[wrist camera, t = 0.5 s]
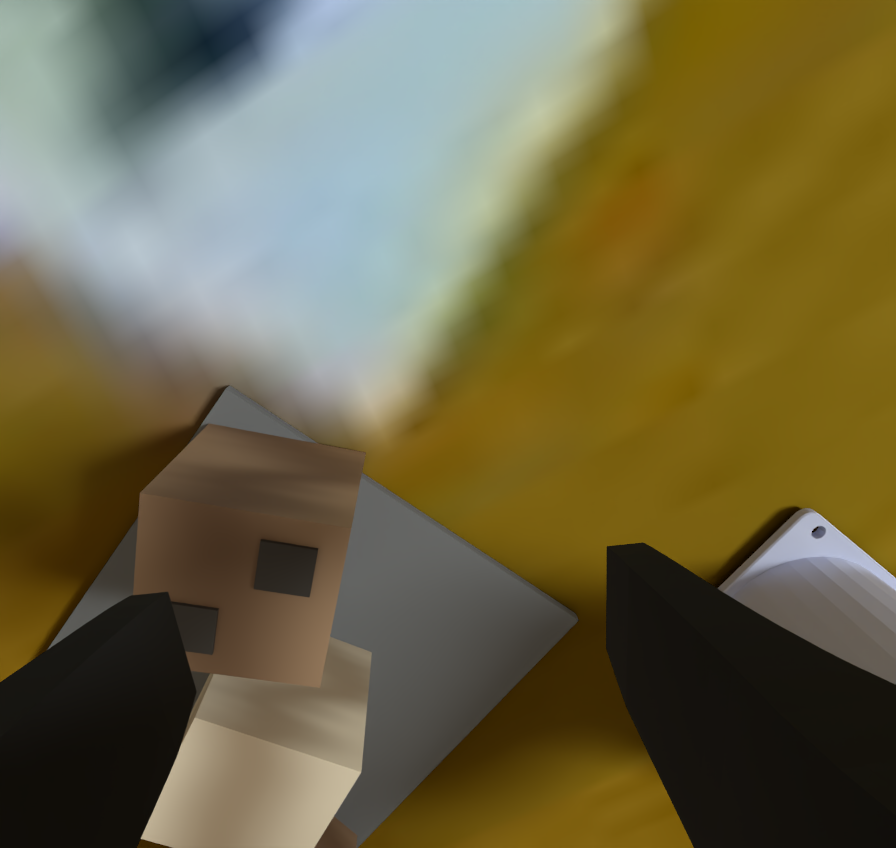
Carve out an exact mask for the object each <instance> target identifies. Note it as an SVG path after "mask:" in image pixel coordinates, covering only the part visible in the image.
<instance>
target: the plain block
mask: <svg viewBox="0 0 896 848" xmlns="http://www.w3.org/2000/svg"><path fill="white" fill-rule="evenodd" d="M371 656H372V652H369V651H367V650H364V649H362V648H359V647H356V646H354V645H351V644H348V643H346V642H343V641H340V640H338V639H335V638H332V637H330V639H329V644H328V649H327V654H326V659H325V664H324V669H323V674H322V680H321V685H320V688H318V687H310V686H302V685H295V684H287V683H280V682H272V681H264V680H257V679H249V678H241V677H234V676H226V675H219V674H211V673H210V674H209V676H208V678H207V680H206V682H205V685H204V687H203V689H202V691H201V693H200V695H199V697H198V699H197V701H196V703H195V705H194V707H193V709H192V712H191V714H190V717H189V721H188V724H187V728H186V731H185V734H184V737H183V740H182V743H181V746H180V749H179V752H178V755H177V758H176V760H175V762H174V765H173V767H172V769H171V772H170V774H169V776H168V779H167V781H166V783H165V785H164V788H163V790H162V792H161V794H160V797H159V799H158V801H157V804H156V806H155V808H154V810H153V813H152V815H151V817H150V819H149V821H148V824H147V826H146V828H145V830H144V832H143V835H142V837H141V839H144V840H147V841H151V842H154V843H158V844H161V845H165V846H169V847H172V848H314V847H315V846H316V844H317V842H318V841H319V839H320V838H321V836H322V834H323V833H324V831H325V830H326V828H327V826H328V825H329V823H330V822H331V820H332V818H333V817H334V815H335V814H336V812H337V810H338V809H339V807H340V806H341V804H342V802H343V801H344V799H345V798H346V796H347V794H348V793H349V791H350V790H351V788H352V786H353V785H354V783H355V782H356V780H357V778H358V777H359V775H360V774H361V770H362V759H363V747H364V736H365V725H366V713H367V702H368V690H369V679H370V668H371Z"/></svg>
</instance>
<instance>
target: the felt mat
mask: <svg viewBox="0 0 896 848" xmlns="http://www.w3.org/2000/svg"><path fill="white" fill-rule="evenodd" d="M209 423H210V424H215V425H220V426H226V427H231V428H237V429H242V430H247V431H253V432H258V433H263V434H269V435H274V436H279V437H285V438H290V439H296V440H301V441H306V442H312V443H316V442H315V441H313V440H312V439H310V438H309V437H307V436H306V435H304V434H303V433H301V432H300V431H298V430H297V429H295V428H294V427H292V426H291V425H289V424H287V423H286V422H284V421H283V420H281V419H280V418H278V417H277V416H275V415H274V414H272V413H271V412H269V411H268V410H266V409H265V408H263V407H262V406H260V405H259V404H257V403H256V402H254V401H253V400H251V399H250V398H248V397H247V396H245V395H243V394H242V393H240V392H239V391H237V390H236V389H234V388H233V387H231V386H230V385H229V386H228V387H227V388H226V389H225V391H224V392H223V394H222V395H221V396H220V398H219V399H218V401H217V402H216V404H215V405H214V407H213V408H212V410H211V411H210V413H209V414H208V415H207V417H206V418H205V420H204V421H203V423H202V424H201V426H200V427H199V429H198V430H197V432H196V433H195V434H194V436H193V437H192V439H191V440H190V442H191V441H192V440H193V439H194V438H195V437H196V436H197V435H198V434H199V433H200V432H201V431H202V430H203V429H204V428H205V427H206V426H207V425H208V424H209ZM190 442H189V443H190ZM189 443H188V444H189ZM317 444H318V443H317ZM137 529H138V518H137V519H136V521H135V522H134V524H133V525H132V526H131V528H130V529H129V531H128V532H127V534H126V535H125V537H124V538H123V540H122V541H121V543H120V544H119V545H118V547H117V548H116V550H115V551H114V553H113V554H112V556H111V557H110V559H109V560H108V562H107V563H106V564H105V566H104V567H103V569H102V570H101V572H100V573H99V575H98V576H97V578H96V579H95V581H94V582H93V583H92V585H91V586H90V588H89V589H88V591H87V592H86V594H85V595H84V597H83V598H82V600H81V601H80V602H79V604H78V605H77V607H76V608H75V610H74V611H73V613H72V614H71V616H70V617H69V619H68V620H67V621H66V623H65V624H64V626H63V627H62V629H61V630H60V632H59V633H58V635H57V636H56V638H55V639H54V640H53V642H52V643H51V645H50V646H49V648H51V647H52V646H54V645H55V644H57V643H58V642H60V641H61V640H62V639H64V638H65V637H67V636H68V635H70V634H71V633H73V632H74V631H75V630H77V629H78V628H80V627H81V626H83V625H84V624H86V623H87V622H89V621H90V620H92V619H93V618H95V617H96V616H98V615H99V614H101V613H102V612H104V611H105V610H107V609H108V608H110V607H112V606H113V605H115V604H117V603H118V602H120V601H122V600H123V599H125V598H127V597H129V596H131V595H133V588H134V573H135V559H136V544H137ZM578 621H579V620H578V618H577V615H576V613H574V612H573V611H571V610H570V609H568V608H567V607H565V606H564V605H562V604H561V603H559V602H558V601H556V600H554V599H553V598H551V597H550V596H548V595H547V594H545V593H544V592H542V591H541V590H539V589H538V588H536V587H535V586H533V585H532V584H530V583H529V582H527V581H526V580H524V579H523V578H521V577H520V576H518V575H517V574H515V573H514V572H512V571H510V570H509V569H507V568H506V567H504V566H503V565H501V564H500V563H498V562H497V561H495V560H494V559H492V558H491V557H489V556H488V555H486V554H485V553H483V552H482V551H480V550H479V549H477V548H476V547H474V546H473V545H471V544H470V543H468V542H466V541H465V540H463V539H462V538H460V537H459V536H457V535H456V534H454V533H453V532H451V531H450V530H448V529H447V528H445V527H444V526H442V525H441V524H439V523H438V522H436V521H435V520H433V519H432V518H430V517H429V516H427V515H426V514H424V513H422V512H421V511H419V510H418V509H416V508H415V507H413V506H412V505H410V504H409V503H407V502H406V501H404V500H403V499H401V498H400V497H398V496H397V495H395V494H394V493H392V492H391V491H389V490H388V489H386V488H385V487H383V486H382V485H380V484H379V483H377V482H375V481H374V480H372V479H371V478H369V477H368V476H366V475H365V474H363V473H362V475H361V480H360V486H359V491H358V496H357V501H356V507H355V512H354V517H353V522H352V528H351V533H350V538H349V543H348V548H347V553H346V558H345V563H344V568H343V573H342V578H341V583H340V588H339V593H338V599H337V604H336V609H335V614H334V619H333V624H332V629H331V634H330V637H332V638H335V639H338V640H340V641H343V642H346V643H348V644H351V645H354V646H356V647H359V648H362V649H364V650H367V651H369V652H372V656H371V668H370V679H369V690H368V702H367V713H366V725H365V736H364V747H363V759H362V770H361V774H360V775H359V777H358V778H357V780H356V782H355V783H354V785H353V786H352V788H351V790H350V791H349V793H348V794H347V796H346V798H345V799H344V801H343V802H342V804H341V806H340V807H339V809H338V810H337V812H336V814H335V815H334V817H336V818H337V819H338V820H339V821H340V822H342V823H343V824H344V825H345V826H347V827H348V828H349V829H350V830H351V831H353V832H354V833H355V834H356V835H357V845H356V848H358V847H359V846H360V845H361V844H362V843H363V842H364V841H365V840H366V838H367V837H368V836H369V835H370V834H371V833H372V832H373V831H374V830H375V829H376V828H377V827H378V826H379V825H380V824H381V823H382V822H383V821H384V820H385V819H386V818H387V817H388V816H389V815H390V814H391V813H392V812H393V811H394V810H395V809H396V808H397V807H398V806H399V805H400V804H401V803H402V801H403V800H404V799H405V798H406V797H407V796H408V795H409V794H410V793H411V792H412V791H413V790H414V789H415V788H416V787H417V786H418V785H419V784H420V783H421V782H422V781H423V780H424V779H425V778H426V777H427V776H428V775H429V774H430V773H431V772H432V771H433V770H434V769H435V768H436V767H437V765H438V764H439V763H440V762H441V761H442V760H443V759H444V758H445V757H446V756H447V755H448V754H449V753H450V752H451V751H452V750H453V749H454V748H455V747H456V746H457V745H458V744H459V743H460V742H461V741H462V740H463V739H464V738H465V737H466V736H467V735H468V734H469V733H470V732H471V731H472V730H473V728H474V727H475V726H476V725H477V724H478V723H479V722H480V721H481V720H482V719H483V718H484V717H485V716H486V715H487V714H488V713H489V712H490V711H491V710H492V709H493V708H494V707H495V706H496V705H497V704H498V703H499V702H500V701H501V700H502V699H503V698H504V697H505V696H506V695H507V694H508V692H509V691H510V690H511V689H512V688H513V687H514V686H515V685H516V684H517V683H518V682H519V681H520V680H521V679H522V678H523V677H524V676H525V675H526V674H527V673H528V672H529V671H530V670H531V669H532V668H533V667H534V666H535V665H536V664H537V663H538V662H539V661H540V660H541V659H542V658H543V656H544V655H545V654H546V653H547V652H548V651H549V650H550V649H551V648H552V647H553V646H554V645H555V644H556V643H557V642H558V641H559V640H560V639H561V638H562V637H563V636H564V635H565V634H566V633H567V632H568V631H569V630H570V629H571V628H572V627H573V626H574V625H575V624H576V623H577V622H578ZM49 648H48V649H49ZM48 649H47V650H48ZM191 673H192V677H193V680H194V684H195V687H196V691H197V693H196V696H195V700H194V703H193V707H194V705H195V703H196V701H197V699H198V697H199V695H200V693H201V691H202V689H203V687H204V685H205V682H206V680H207V678H208V676H209V674H210V673H203V672H196V671H191ZM193 707H192V709H193ZM191 712H192V710H191Z"/></svg>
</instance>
